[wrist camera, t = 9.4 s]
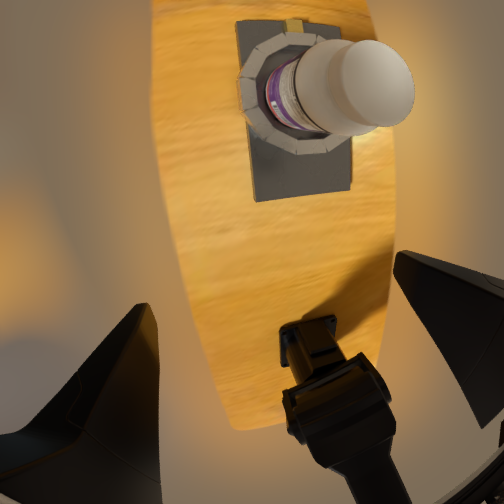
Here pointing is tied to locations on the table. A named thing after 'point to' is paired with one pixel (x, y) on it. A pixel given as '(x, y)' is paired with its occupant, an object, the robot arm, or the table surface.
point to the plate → (288, 128)
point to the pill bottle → (342, 88)
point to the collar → (248, 94)
